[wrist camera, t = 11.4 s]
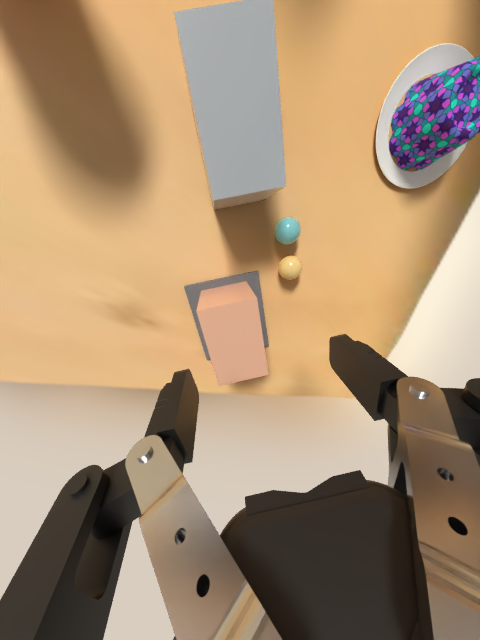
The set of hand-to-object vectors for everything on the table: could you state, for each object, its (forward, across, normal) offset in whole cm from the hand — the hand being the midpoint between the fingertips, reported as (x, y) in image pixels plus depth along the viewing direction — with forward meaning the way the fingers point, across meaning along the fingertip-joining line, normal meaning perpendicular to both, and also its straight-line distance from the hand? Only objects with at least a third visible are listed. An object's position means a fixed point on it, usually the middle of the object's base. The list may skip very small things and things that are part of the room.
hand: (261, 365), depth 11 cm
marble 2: (+18, -7, -1) cm, 19 cm away
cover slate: (+18, -2, -14) cm, 23 cm away
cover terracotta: (+17, +2, +5) cm, 18 cm away
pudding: (+19, -24, -13) cm, 33 cm away
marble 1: (+18, -7, -5) cm, 20 cm away
